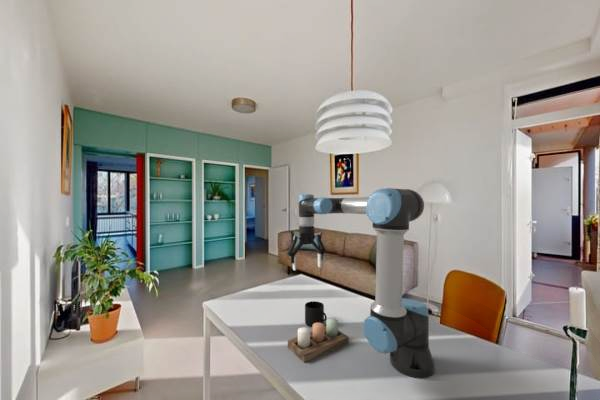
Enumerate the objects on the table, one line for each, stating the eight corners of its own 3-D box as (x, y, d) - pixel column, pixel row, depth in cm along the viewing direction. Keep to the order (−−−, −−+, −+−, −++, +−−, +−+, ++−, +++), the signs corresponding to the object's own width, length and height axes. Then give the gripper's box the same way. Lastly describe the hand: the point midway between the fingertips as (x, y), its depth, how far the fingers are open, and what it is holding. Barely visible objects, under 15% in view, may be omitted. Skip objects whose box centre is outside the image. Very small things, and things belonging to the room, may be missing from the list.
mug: (320, 331, 118) (320, 311, 118) (301, 323, 126) (301, 305, 126) (331, 324, 125) (331, 305, 126) (312, 317, 133) (312, 299, 133)
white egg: (312, 346, 102) (312, 331, 102) (302, 350, 99) (302, 334, 99) (305, 340, 106) (305, 326, 106) (295, 344, 103) (295, 329, 103)
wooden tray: (348, 343, 108) (348, 336, 108) (304, 362, 95) (304, 354, 95) (330, 331, 118) (330, 325, 118) (287, 347, 105) (287, 340, 105)
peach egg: (327, 340, 106) (326, 326, 106) (317, 344, 103) (317, 329, 103) (319, 335, 110) (319, 321, 110) (310, 338, 107) (310, 324, 107)
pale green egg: (340, 335, 110) (340, 321, 110) (331, 338, 107) (331, 324, 107) (332, 330, 114) (332, 317, 114) (324, 333, 111) (324, 319, 111)
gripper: (325, 224, 134) (326, 264, 133) (280, 226, 125) (280, 269, 124) (332, 225, 127) (333, 267, 126) (285, 227, 118) (285, 273, 117)
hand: (307, 268), depth 125 cm, fingers open, 13 cm apart
